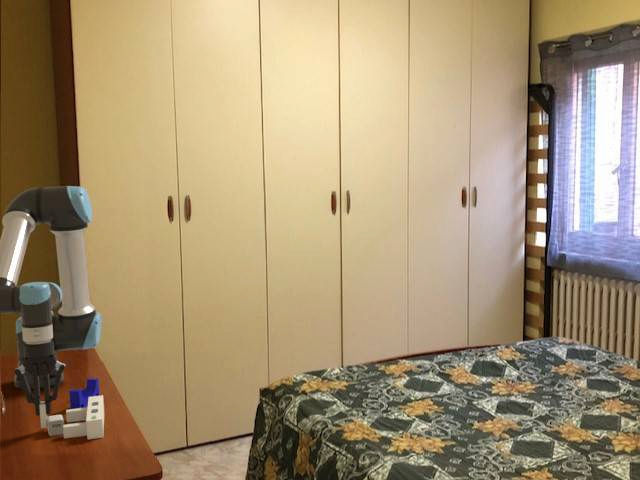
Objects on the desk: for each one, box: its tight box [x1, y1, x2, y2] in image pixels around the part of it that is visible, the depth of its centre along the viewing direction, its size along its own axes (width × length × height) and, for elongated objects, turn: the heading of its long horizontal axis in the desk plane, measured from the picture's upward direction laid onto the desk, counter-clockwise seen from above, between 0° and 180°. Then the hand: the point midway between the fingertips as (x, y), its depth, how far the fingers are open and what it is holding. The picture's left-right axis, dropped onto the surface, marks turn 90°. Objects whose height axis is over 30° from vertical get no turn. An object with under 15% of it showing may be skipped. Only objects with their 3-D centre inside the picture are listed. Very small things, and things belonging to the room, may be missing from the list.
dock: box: [63, 394, 105, 440], centre depth 196 cm, size 20×10×5 cm, turn 16°
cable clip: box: [68, 377, 100, 409], centre depth 215 cm, size 12×4×6 cm, turn 170°
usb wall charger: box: [46, 414, 65, 437], centre depth 193 cm, size 4×7×4 cm, turn 25°
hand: (44, 426), depth 193 cm, fingers closed
